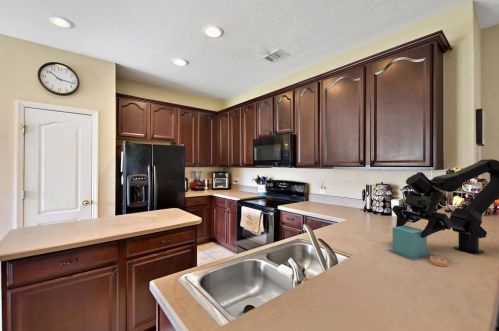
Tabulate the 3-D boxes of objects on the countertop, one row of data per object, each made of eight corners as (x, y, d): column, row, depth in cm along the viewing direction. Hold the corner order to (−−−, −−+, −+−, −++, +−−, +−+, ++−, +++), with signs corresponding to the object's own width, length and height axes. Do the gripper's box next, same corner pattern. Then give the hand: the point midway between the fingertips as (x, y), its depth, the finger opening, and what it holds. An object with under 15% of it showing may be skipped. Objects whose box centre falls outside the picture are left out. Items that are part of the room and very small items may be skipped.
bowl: (435, 261, 77) (435, 254, 77) (450, 267, 73) (450, 259, 73) (426, 263, 76) (426, 256, 76) (441, 269, 71) (441, 261, 71)
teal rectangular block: (406, 248, 88) (406, 225, 88) (426, 255, 81) (426, 230, 81) (392, 251, 85) (392, 227, 85) (412, 258, 78) (412, 232, 78)
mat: (408, 247, 90) (408, 246, 90) (436, 256, 81) (436, 255, 81) (386, 251, 86) (386, 250, 86) (413, 261, 77) (413, 260, 77)
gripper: (395, 185, 94) (375, 214, 90) (447, 190, 76) (425, 225, 73) (408, 203, 97) (389, 231, 93) (461, 212, 79) (441, 247, 75)
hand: (408, 233), depth 83 cm, fingers open, 9 cm apart
